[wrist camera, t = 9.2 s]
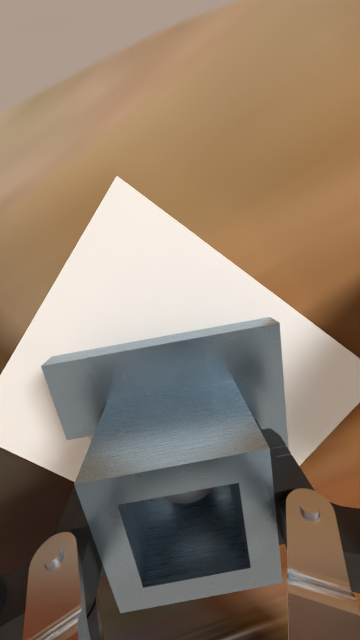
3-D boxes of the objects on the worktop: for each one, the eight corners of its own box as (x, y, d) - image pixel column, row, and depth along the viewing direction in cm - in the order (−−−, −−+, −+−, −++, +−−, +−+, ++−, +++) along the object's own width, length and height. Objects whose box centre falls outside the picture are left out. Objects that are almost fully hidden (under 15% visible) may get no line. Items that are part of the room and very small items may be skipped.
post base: (364, 365, 16) (490, 437, 10) (215, 528, 19) (238, 663, 13) (122, 184, 13) (79, 117, 6) (-14, 414, 16) (-136, 523, 9)
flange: (270, 316, 11) (346, 363, 7) (283, 488, 14) (345, 612, 9) (51, 356, 11) (-35, 433, 6) (106, 521, 14) (74, 663, 9)
